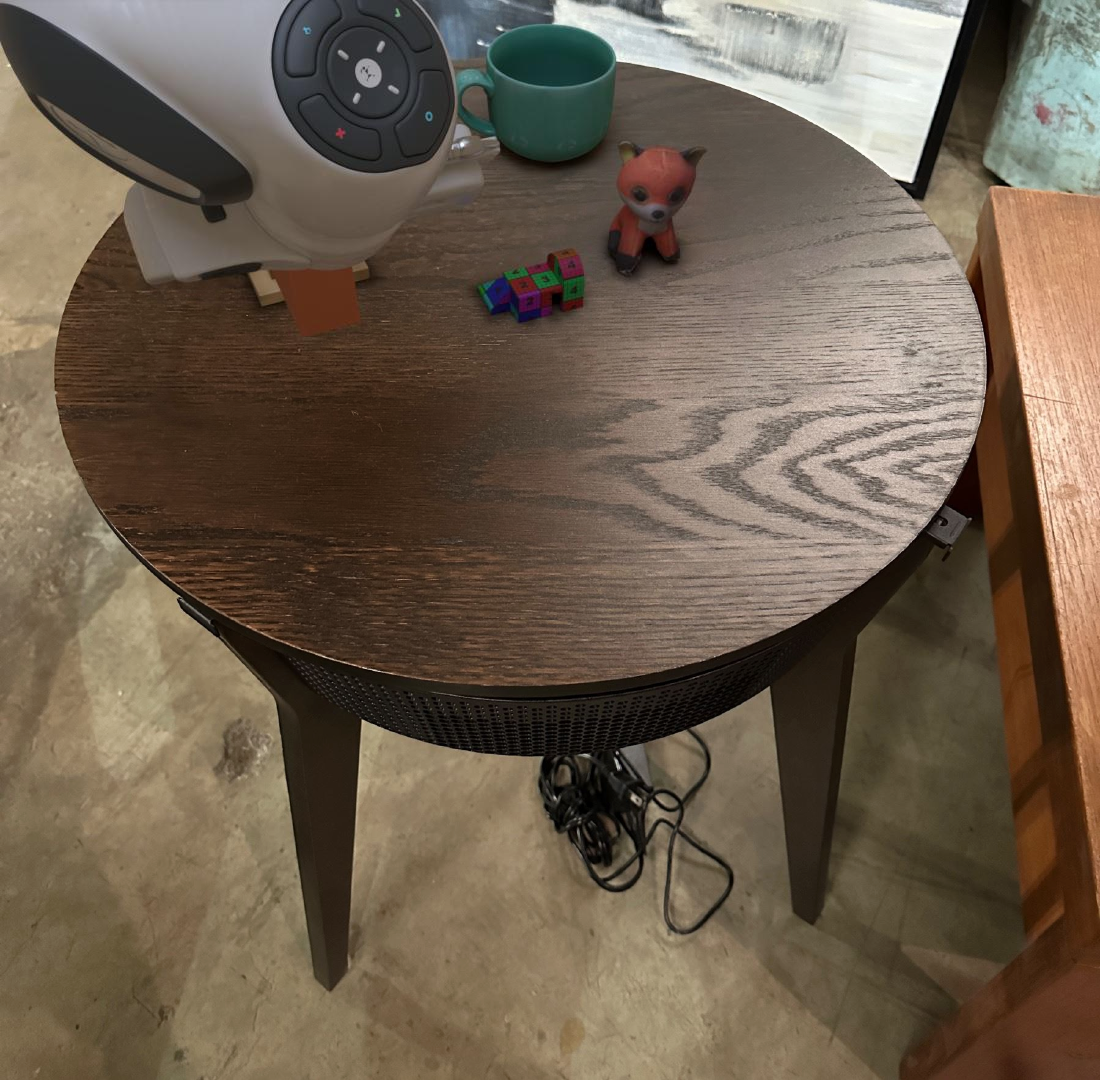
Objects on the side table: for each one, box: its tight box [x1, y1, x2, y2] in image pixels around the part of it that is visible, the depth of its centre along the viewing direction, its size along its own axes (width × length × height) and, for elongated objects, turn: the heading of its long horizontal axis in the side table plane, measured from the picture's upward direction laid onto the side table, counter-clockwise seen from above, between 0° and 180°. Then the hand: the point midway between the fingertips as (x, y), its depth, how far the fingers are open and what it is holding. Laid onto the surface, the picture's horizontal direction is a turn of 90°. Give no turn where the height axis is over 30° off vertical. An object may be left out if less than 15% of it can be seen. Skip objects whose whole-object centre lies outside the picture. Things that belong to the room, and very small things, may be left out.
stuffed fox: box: [607, 140, 709, 277], centre depth 92 cm, size 8×11×12 cm
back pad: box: [272, 266, 362, 338], centre depth 66 cm, size 4×7×9 cm, turn 25°
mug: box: [455, 23, 617, 163], centre depth 103 cm, size 17×13×10 cm
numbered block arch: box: [476, 247, 586, 324], centre depth 90 cm, size 8×5×4 cm
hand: (300, 231), depth 66 cm, fingers closed on back pad, 4 cm apart
